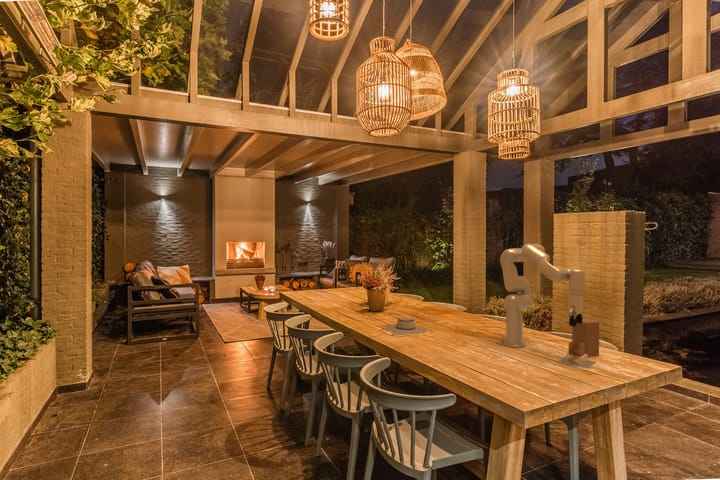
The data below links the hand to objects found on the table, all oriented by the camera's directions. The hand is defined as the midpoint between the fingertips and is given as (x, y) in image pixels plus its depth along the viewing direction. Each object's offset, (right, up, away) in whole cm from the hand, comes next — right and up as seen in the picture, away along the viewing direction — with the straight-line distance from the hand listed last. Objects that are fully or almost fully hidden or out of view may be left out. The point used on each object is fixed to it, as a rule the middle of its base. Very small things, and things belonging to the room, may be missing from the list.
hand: (575, 324), depth 211 cm
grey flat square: (0, -21, 0) cm, 21 cm away
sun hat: (-81, -22, +77) cm, 114 cm away
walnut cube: (0, -16, 0) cm, 16 cm away
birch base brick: (0, -20, 0) cm, 20 cm away
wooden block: (+13, -21, +14) cm, 28 cm away
